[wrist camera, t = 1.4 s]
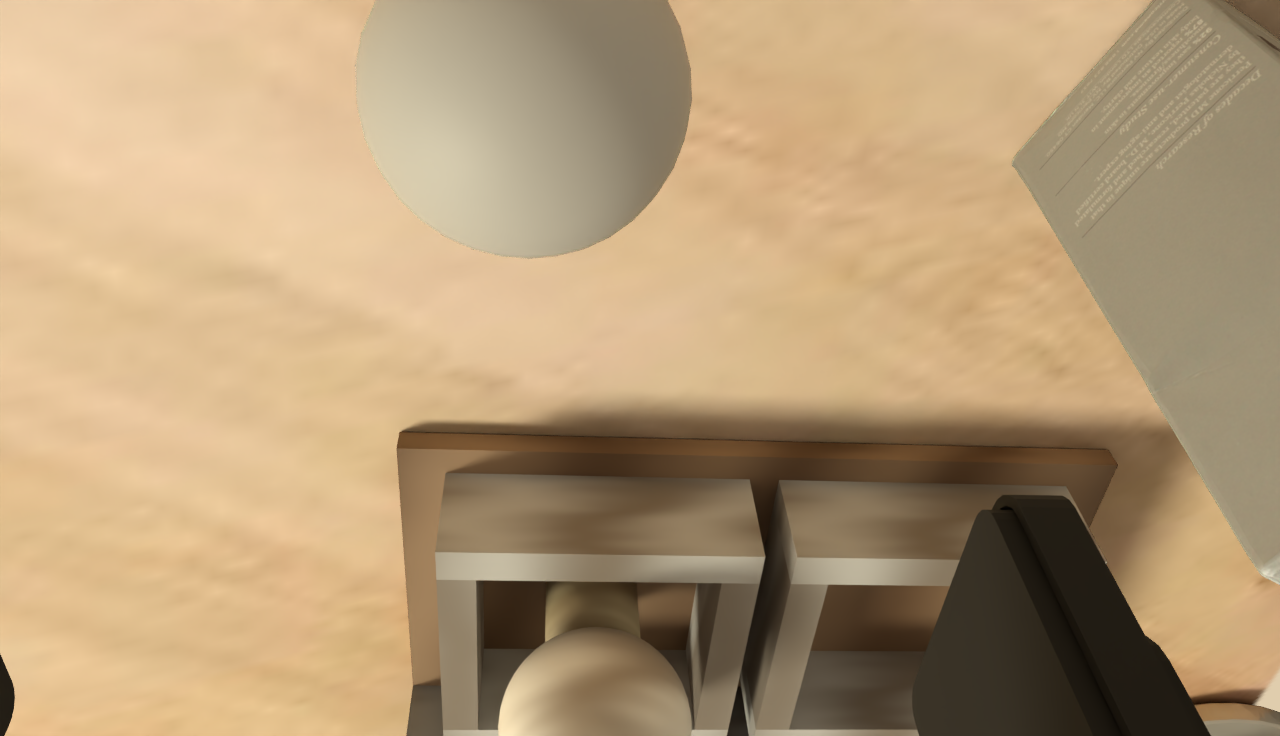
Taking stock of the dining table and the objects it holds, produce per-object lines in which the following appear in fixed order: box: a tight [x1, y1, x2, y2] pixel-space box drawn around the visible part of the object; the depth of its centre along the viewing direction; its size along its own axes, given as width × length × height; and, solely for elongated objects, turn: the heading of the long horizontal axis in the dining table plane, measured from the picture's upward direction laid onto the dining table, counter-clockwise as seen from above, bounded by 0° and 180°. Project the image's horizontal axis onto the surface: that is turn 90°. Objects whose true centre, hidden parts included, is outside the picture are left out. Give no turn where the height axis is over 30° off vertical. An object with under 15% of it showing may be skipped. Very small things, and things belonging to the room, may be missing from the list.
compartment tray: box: [397, 432, 1118, 736], centre depth 36 cm, size 24×15×10 cm, turn 85°
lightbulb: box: [355, 0, 692, 259], centre depth 22 cm, size 6×6×11 cm
